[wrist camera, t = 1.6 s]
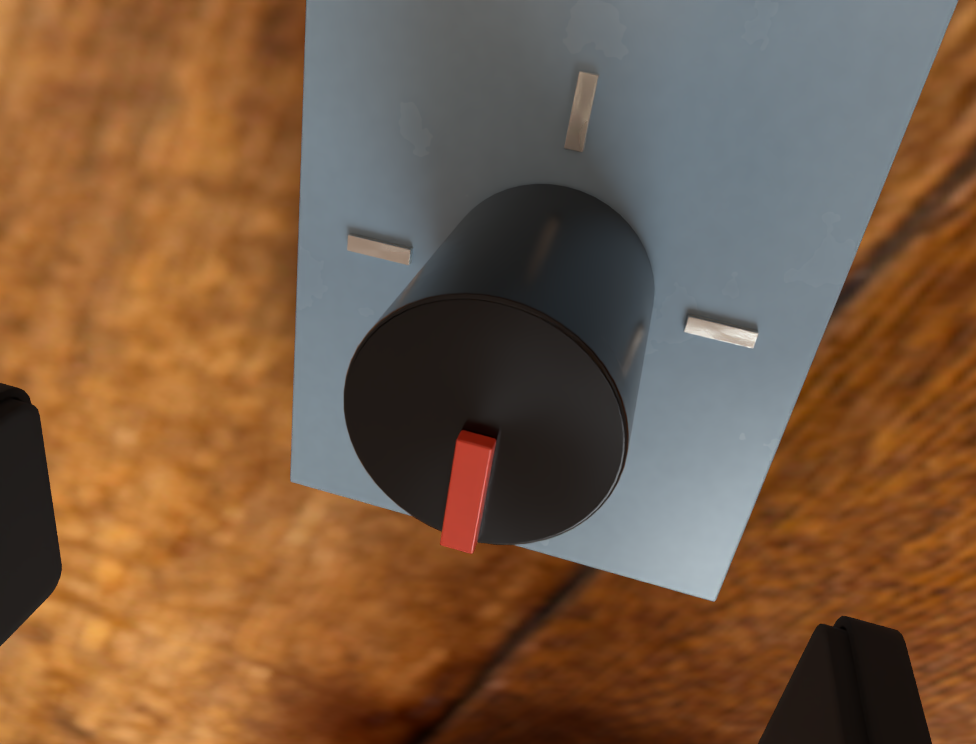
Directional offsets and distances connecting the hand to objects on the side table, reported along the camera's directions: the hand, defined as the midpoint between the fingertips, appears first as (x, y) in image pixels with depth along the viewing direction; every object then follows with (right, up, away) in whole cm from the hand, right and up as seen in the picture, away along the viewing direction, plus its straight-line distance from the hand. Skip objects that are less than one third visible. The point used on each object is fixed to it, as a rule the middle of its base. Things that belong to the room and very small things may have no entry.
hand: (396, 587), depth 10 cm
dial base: (+3, +5, +9) cm, 11 cm away
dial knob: (+2, +4, +7) cm, 9 cm away
